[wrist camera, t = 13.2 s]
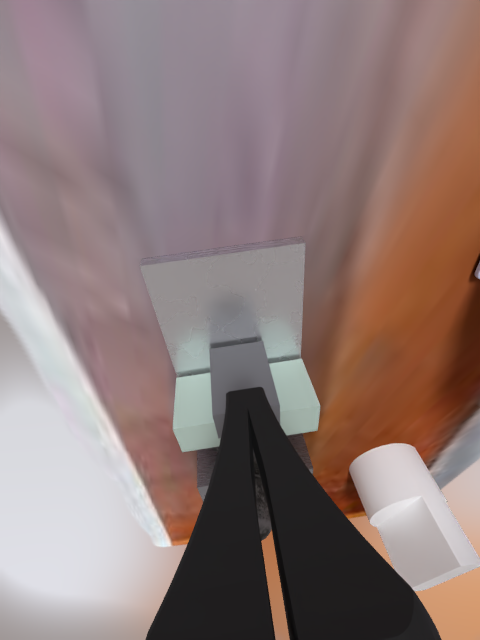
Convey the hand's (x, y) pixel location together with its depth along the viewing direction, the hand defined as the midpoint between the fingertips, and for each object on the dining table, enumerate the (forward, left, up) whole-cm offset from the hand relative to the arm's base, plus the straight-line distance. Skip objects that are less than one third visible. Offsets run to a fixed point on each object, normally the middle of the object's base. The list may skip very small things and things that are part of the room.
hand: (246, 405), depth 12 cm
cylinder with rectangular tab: (-17, +31, -11) cm, 37 cm away
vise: (0, +9, -10) cm, 14 cm away
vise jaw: (0, +8, -9) cm, 12 cm away
